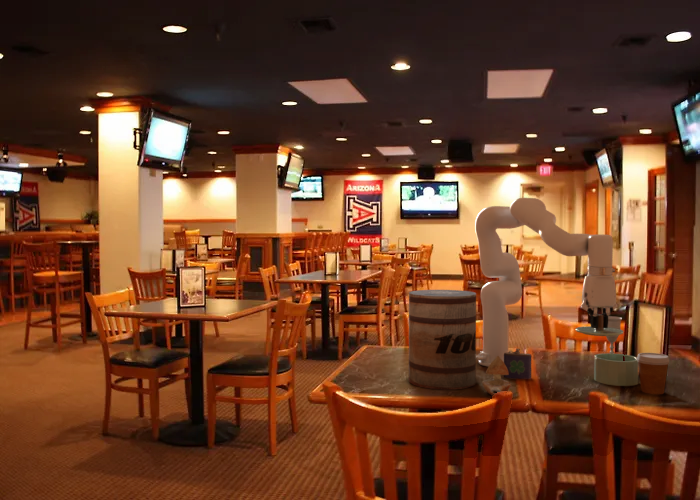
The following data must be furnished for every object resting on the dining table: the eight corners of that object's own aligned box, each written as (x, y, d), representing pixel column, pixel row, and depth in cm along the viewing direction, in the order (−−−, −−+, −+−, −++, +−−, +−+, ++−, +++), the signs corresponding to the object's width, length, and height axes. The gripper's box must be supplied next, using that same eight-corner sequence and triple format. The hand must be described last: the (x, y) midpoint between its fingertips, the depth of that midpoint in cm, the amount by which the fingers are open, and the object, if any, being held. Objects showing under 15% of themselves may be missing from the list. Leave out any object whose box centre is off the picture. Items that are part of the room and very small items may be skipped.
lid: (592, 338, 201) (592, 318, 201) (566, 330, 215) (566, 312, 215) (633, 336, 204) (633, 317, 204) (605, 329, 218) (605, 311, 218)
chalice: (623, 367, 237) (623, 319, 236) (603, 366, 238) (604, 318, 238) (619, 363, 244) (619, 316, 243) (600, 362, 245) (600, 316, 245)
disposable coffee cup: (630, 389, 204) (630, 352, 204) (658, 389, 205) (659, 352, 205) (646, 397, 195) (646, 358, 194) (676, 397, 196) (676, 358, 195)
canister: (611, 388, 206) (611, 362, 205) (586, 379, 219) (586, 354, 219) (647, 386, 209) (647, 360, 209) (620, 376, 222) (620, 352, 222)
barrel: (471, 391, 202) (472, 297, 201) (402, 386, 209) (402, 295, 208) (479, 376, 223) (479, 290, 222) (416, 371, 230) (416, 288, 229)
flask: (531, 379, 218) (531, 348, 218) (531, 381, 216) (531, 349, 215) (503, 377, 221) (503, 347, 221) (503, 379, 218) (503, 348, 218)
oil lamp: (511, 386, 208) (511, 356, 208) (510, 404, 187) (510, 370, 187) (484, 385, 210) (484, 355, 210) (480, 402, 190) (480, 369, 189)
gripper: (614, 270, 214) (613, 325, 215) (571, 271, 211) (570, 327, 211) (629, 272, 207) (628, 328, 208) (584, 273, 203) (583, 330, 204)
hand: (599, 327), depth 210 cm, fingers closed on lid, 2 cm apart
